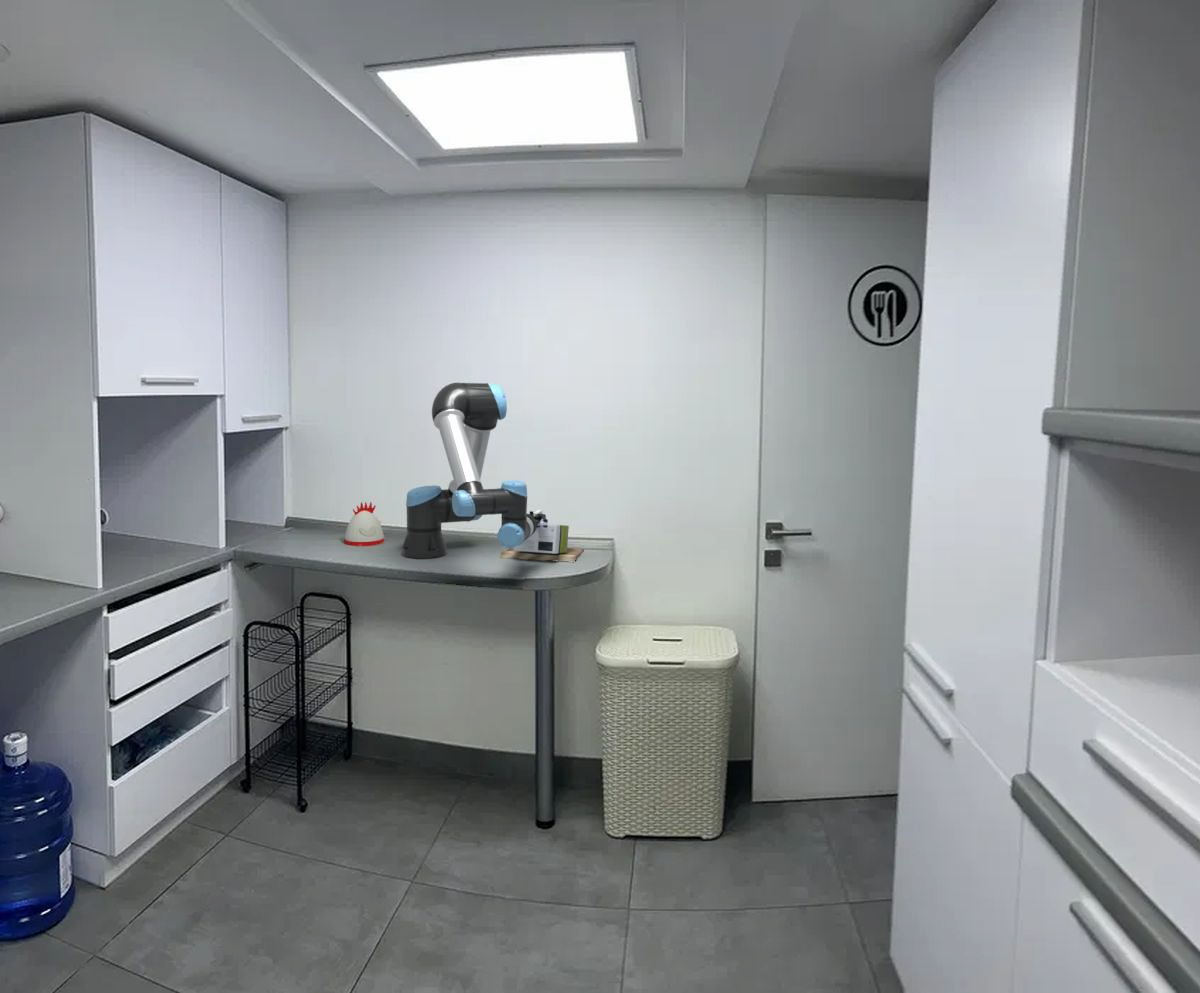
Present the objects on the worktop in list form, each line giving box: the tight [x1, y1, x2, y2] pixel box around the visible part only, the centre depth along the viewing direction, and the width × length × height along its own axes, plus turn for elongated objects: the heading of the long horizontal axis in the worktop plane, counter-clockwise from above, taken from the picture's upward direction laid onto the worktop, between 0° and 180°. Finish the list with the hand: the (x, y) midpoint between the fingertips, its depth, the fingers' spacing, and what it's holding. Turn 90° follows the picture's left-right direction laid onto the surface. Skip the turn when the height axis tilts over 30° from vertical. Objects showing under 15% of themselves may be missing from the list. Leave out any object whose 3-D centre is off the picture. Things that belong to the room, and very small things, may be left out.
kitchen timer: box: [344, 501, 385, 547], centre depth 278 cm, size 14×14×15 cm
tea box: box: [514, 523, 570, 554], centre depth 262 cm, size 15×10×15 cm
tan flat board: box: [500, 547, 585, 562], centre depth 267 cm, size 26×18×2 cm
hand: (540, 513), depth 259 cm, fingers closed
